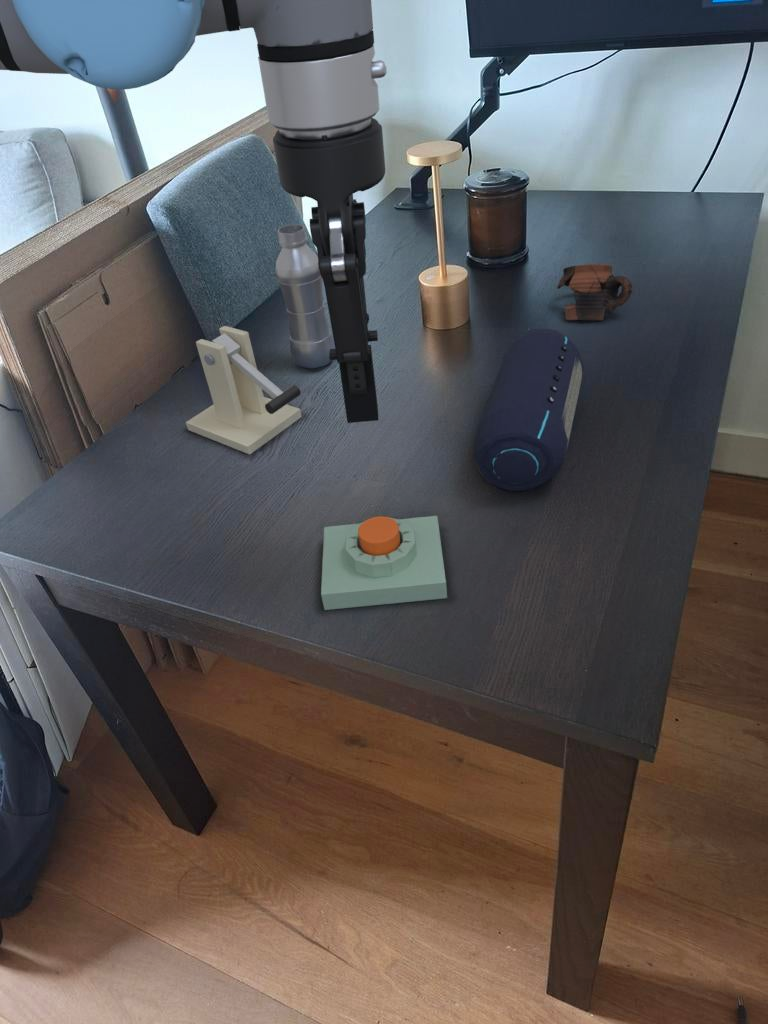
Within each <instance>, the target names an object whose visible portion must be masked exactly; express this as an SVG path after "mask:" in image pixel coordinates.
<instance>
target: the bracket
mask: <svg viewBox="0 0 768 1024" xmlns="http://www.w3.org/2000/svg"><path fill="white" fill-rule="evenodd" d="M218 330H219V334H220V336H221V335H222V334H224V333H225V334H226V335H228V336H229V337H230V338H231V339H232V340H234V341H235V342H236V343H237V344H238V345H239V346H240V352H239V355H240V356H242V357H243V358H244V359H245V360H246V361H247V362H249V363H250V364H251V365H252V366H253V367H254V368H256V369H257V370H258V367H257V363H256V359H255V354H254V350H253V347H252V343H251V342H252V341H251V338H250V333H249V332H248V331H246V330H242V329H238V328H235V327H231V326H227V325H223V326H221V327H219V328H218ZM195 345H196V349H197V352H198V355H199V360H200V362H201V365H202V368H203V373H204V376H205V379H206V383H207V386H208V388H209V389H208V390H209V393H210V397H211V400H212V404H211V405H210V406H209V407H207V408H205V409H204V410H202V411H201V412H199V413H197V414H196V415H194V416H193V417H192V418H190V419H188V420H187V421H186V422H185V425H186V428H187V430H188V431H189V432H192V433H194V434H197V435H199V436H202V437H204V438H207V439H210V440H212V441H215V442H217V443H219V444H222V445H224V446H227V447H229V448H232V449H234V450H237V451H239V452H242V453H245V454H246V455H252V454H253V453H254V452H255V451H257V450H259V449H260V448H261V447H263V446H265V444H267V443H268V442H270V441H271V440H272V439H273V438H275V437H277V436H278V435H279V434H281V433H282V432H284V431H285V430H286V429H287V428H289V427H290V426H292V425H293V424H294V423H296V422H297V421H299V420H300V419H301V418H302V417H303V416H302V411H301V408H298V407H296V406H293V405H290V404H286V405H285V406H283V407H282V408H281V409H279V410H278V411H276V412H275V413H273V414H270V413H268V412H267V411H266V409H265V405H266V404H267V403H268V402H270V401H271V400H273V398H270V397H266V396H264V392H263V389H261V388H260V387H259V386H258V385H257V384H256V383H255V382H253V381H252V380H251V379H250V378H249V377H248V376H246V375H245V374H244V373H243V372H242V371H241V370H239V369H238V368H237V367H236V366H235V365H234V364H230V363H229V359H228V355H227V352H226V348H225V346H223V345H220V344H217V343H213V342H212V341H210V340H208V339H207V340H206V339H203V338H201V339H199V340H196V341H195Z"/></svg>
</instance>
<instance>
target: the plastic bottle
mask: <svg viewBox="0 0 768 1024" xmlns="http://www.w3.org/2000/svg"><path fill="white" fill-rule="evenodd" d="M277 236H278V244H279V246H280V247H281V250H280V252H279V254H278V256H277V259H276V261H275V270H274V272H275V276H276V279H277V282H278V284H279V288H280V291H281V293H282V296H283V300H284V305H285V307H286V313H287V319H288V327H289V351H290V354H291V356H292V359H293V361H294V362H295V363H296V364H297V365H298V366H299V367H301V368H305V369H317V368H321V367H324V366H327V365H329V364H330V363H331V362H332V360H330V358H329V356H330V355H329V352H330V349H335V344H334V338H333V333H332V331H331V330H330V326H329V322H328V318H327V314H326V309H325V303H324V301H325V300H324V293H323V292H324V291H323V278H322V277H321V275H320V270H319V266H318V255H317V253H316V252H315V251H314V250H313V249H312V248H311V247H310V246H309V245H308V244H307V242H309V239H308V236H307V233H306V227H305V226H304V225H303V224H300V223H293V224H287V225H283V226H281V227H279V228H278V229H277Z"/></svg>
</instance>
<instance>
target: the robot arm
mask: <svg viewBox="0 0 768 1024" xmlns="http://www.w3.org/2000/svg"><path fill="white" fill-rule="evenodd" d="M372 8H373V7H372V0H0V71H10V72H25V73H33V74H54V75H55V74H57V75H70V76H71V77H73V78H75V79H78V80H79V81H82V82H84V83H87V84H89V85H92V86H93V87H97V88H101V89H102V88H103V89H109V90H132V89H138V88H141V87H144V86H148V85H150V84H152V83H156V82H158V81H159V80H161V79H163V78H164V77H167V75H169V74H170V73H171V72H173V71H174V69H175V68H176V67H177V65H178V64H179V63H180V62H181V61H182V60H183V59H184V58H185V57H186V56H187V55H188V53H189V52H190V50H191V49H192V47H193V45H194V44H195V42H196V37H197V36H204V35H205V36H206V35H212V34H217V33H224V32H237V31H241V30H245V29H253V32H254V35H255V38H256V42H257V44H256V48H257V51H258V52H257V53H258V57H257V60H258V65H259V71H260V76H261V77H260V78H261V83H262V88H263V95H264V102H265V106H266V111H267V112H266V113H267V118H268V119H267V120H268V123H270V125H272V126H273V127H274V128H276V129H278V130H277V131H276V132H275V133H274V136H273V137H272V145H273V149H274V156H275V161H276V168H277V173H278V179H279V184H280V186H281V188H282V189H283V190H284V191H285V192H286V193H288V194H290V195H292V196H294V197H299V198H305V197H307V198H309V199H312V200H314V201H315V202H316V204H317V206H311V209H310V210H311V211H310V212H311V218H309V230H310V237H311V243H312V245H314V247H315V248H316V255H317V256H318V266H319V270H320V275H321V277H322V283H323V286H324V292H325V297H326V303H327V309H328V315H329V320H330V326H331V334H332V337H333V340H334V344H335V349H330V352H329V355H330V356H329V358H330V360H331V361H336V362H337V363H338V365H339V373H340V380H341V388H342V394H343V401H344V407H345V409H344V410H345V414H346V415H345V416H346V421H347V424H353V423H364V422H375V421H376V422H377V421H379V406H378V398H377V397H378V396H377V387H376V378H375V369H374V361H373V352H372V350H373V349H372V344H369V343H371V342H378V341H379V336H378V335H379V334H378V330H377V329H376V330H375V329H374V330H369V322H370V315H369V313H368V309H367V308H368V307H367V300H366V289H365V278H364V277H365V275H366V273H367V261H366V259H367V251H366V250H367V249H366V239H367V238H366V237H367V232H366V231H367V228H366V225H367V224H366V223H367V222H366V209H365V201H361V202H358V201H357V199H356V198H355V199H354V194H355V193H357V192H365V191H368V190H370V189H372V188H374V187H376V186H377V185H379V183H380V182H382V180H383V179H384V178H385V174H386V160H385V158H386V157H385V146H384V134H383V127H382V124H381V123H379V121H378V120H377V119H376V118H374V116H376V115H377V113H378V112H379V111H380V98H379V86H378V83H377V81H376V80H375V79H382V78H384V77H385V76H386V75H387V73H388V72H387V66H386V64H385V61H383V60H375V61H373V60H374V57H375V54H376V51H375V45H374V44H375V35H374V23H373V9H372Z"/></svg>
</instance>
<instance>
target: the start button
mask: <svg viewBox="0 0 768 1024" xmlns="http://www.w3.org/2000/svg"><path fill="white" fill-rule="evenodd" d="M389 517H390V516H373V517H370V518H368V519H365V520H364V521H362V522H363V523H362V522H361V523H362V524H361V525H360V527H359V529H358V535H359V541H360V546H361V549H362V550H363V551H364V552H365V553H367V554H369V555H373V556H379V555H387V554H389V553H391V552H393V551H395V550H396V549H397V548H398V546H399V544H400V534H399V527H398V524H397V522H396V521H395V520H393V519H391V518H392V517H390V518H389Z"/></svg>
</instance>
